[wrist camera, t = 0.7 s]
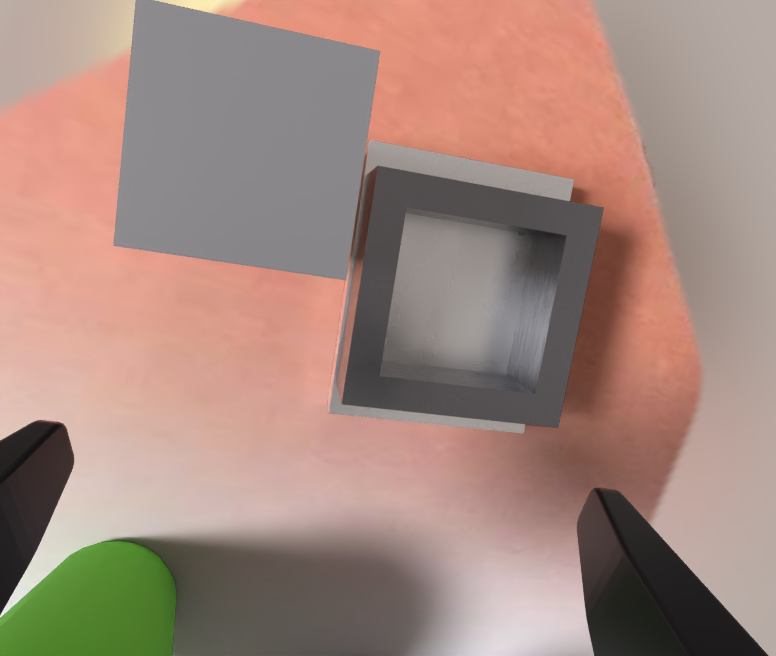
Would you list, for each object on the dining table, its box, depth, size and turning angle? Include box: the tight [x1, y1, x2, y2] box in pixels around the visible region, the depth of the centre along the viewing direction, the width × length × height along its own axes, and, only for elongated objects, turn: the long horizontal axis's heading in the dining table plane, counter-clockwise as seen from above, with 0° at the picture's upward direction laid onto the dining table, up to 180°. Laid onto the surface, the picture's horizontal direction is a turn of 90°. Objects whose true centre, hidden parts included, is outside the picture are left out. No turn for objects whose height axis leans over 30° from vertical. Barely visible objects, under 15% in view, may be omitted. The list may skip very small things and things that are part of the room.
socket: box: [327, 140, 604, 434], centre depth 23 cm, size 11×9×4 cm
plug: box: [113, 0, 380, 280], centre depth 17 cm, size 4×4×12 cm
